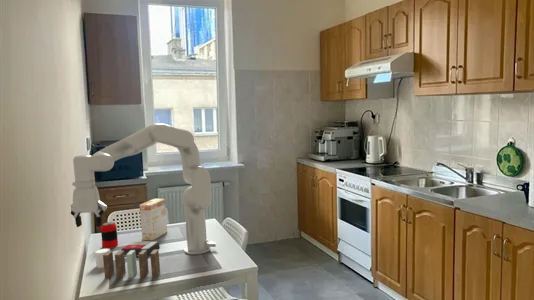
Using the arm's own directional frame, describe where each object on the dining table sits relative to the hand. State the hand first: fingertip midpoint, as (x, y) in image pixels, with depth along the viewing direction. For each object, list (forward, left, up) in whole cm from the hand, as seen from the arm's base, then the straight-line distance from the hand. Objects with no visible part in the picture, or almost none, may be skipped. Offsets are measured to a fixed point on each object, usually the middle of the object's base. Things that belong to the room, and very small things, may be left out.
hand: (89, 225), depth 174 cm
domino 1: (-7, 0, -22) cm, 23 cm away
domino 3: (-17, 0, -22) cm, 28 cm away
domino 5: (-27, 0, -22) cm, 35 cm away
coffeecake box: (-10, -54, -22) cm, 59 cm away
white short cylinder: (+1, -12, -22) cm, 25 cm away
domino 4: (-22, 0, -22) cm, 31 cm away
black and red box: (-10, -29, -23) cm, 38 cm away
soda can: (+9, -39, -22) cm, 46 cm away
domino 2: (-12, 0, -22) cm, 25 cm away
